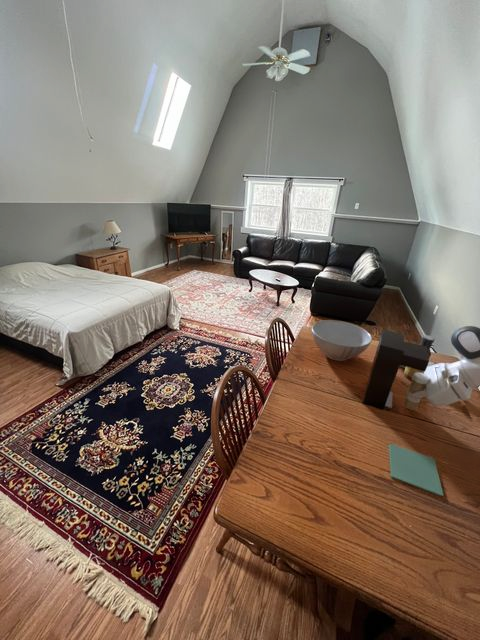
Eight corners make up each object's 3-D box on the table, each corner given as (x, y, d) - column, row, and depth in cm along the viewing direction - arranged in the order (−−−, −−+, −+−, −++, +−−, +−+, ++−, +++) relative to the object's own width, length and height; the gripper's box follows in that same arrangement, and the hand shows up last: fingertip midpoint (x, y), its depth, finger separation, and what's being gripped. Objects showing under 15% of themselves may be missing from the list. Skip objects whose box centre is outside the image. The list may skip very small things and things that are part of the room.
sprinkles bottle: (406, 409, 96) (418, 379, 90) (400, 401, 100) (411, 371, 94) (419, 411, 95) (432, 380, 90) (413, 402, 99) (425, 372, 94)
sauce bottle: (401, 376, 116) (415, 336, 108) (406, 371, 120) (420, 331, 111) (417, 384, 111) (434, 342, 103) (422, 378, 115) (439, 337, 107)
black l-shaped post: (406, 396, 104) (428, 339, 94) (407, 419, 93) (431, 358, 82) (366, 383, 110) (382, 329, 100) (362, 403, 99) (380, 345, 89)
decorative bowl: (360, 377, 114) (367, 353, 109) (300, 357, 126) (304, 334, 121) (369, 350, 135) (375, 329, 130) (317, 335, 147) (320, 315, 142)
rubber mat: (434, 459, 78) (434, 458, 78) (443, 497, 68) (443, 495, 68) (388, 444, 83) (389, 443, 83) (391, 477, 73) (391, 476, 73)
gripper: (447, 354, 95) (407, 368, 103) (457, 385, 79) (409, 399, 87) (458, 368, 95) (417, 382, 103) (470, 402, 79) (421, 415, 87)
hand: (413, 390), depth 95 cm, fingers closed on sprinkles bottle, 4 cm apart
